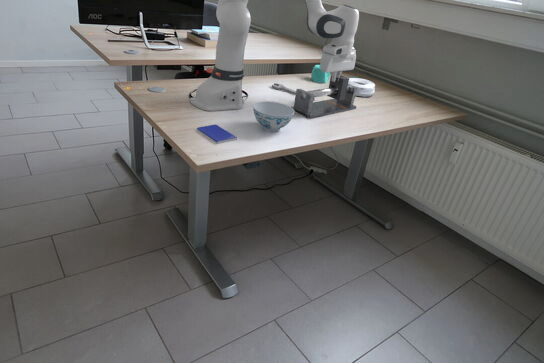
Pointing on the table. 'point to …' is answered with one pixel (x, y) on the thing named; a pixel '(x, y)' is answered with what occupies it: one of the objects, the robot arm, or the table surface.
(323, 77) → the decorative dice
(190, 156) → the table surface
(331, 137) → the table surface
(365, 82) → the cable
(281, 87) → the adjustable wrench
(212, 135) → the hard drive
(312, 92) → the pipe stand
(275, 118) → the chinaware
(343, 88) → the dark grey upright block
